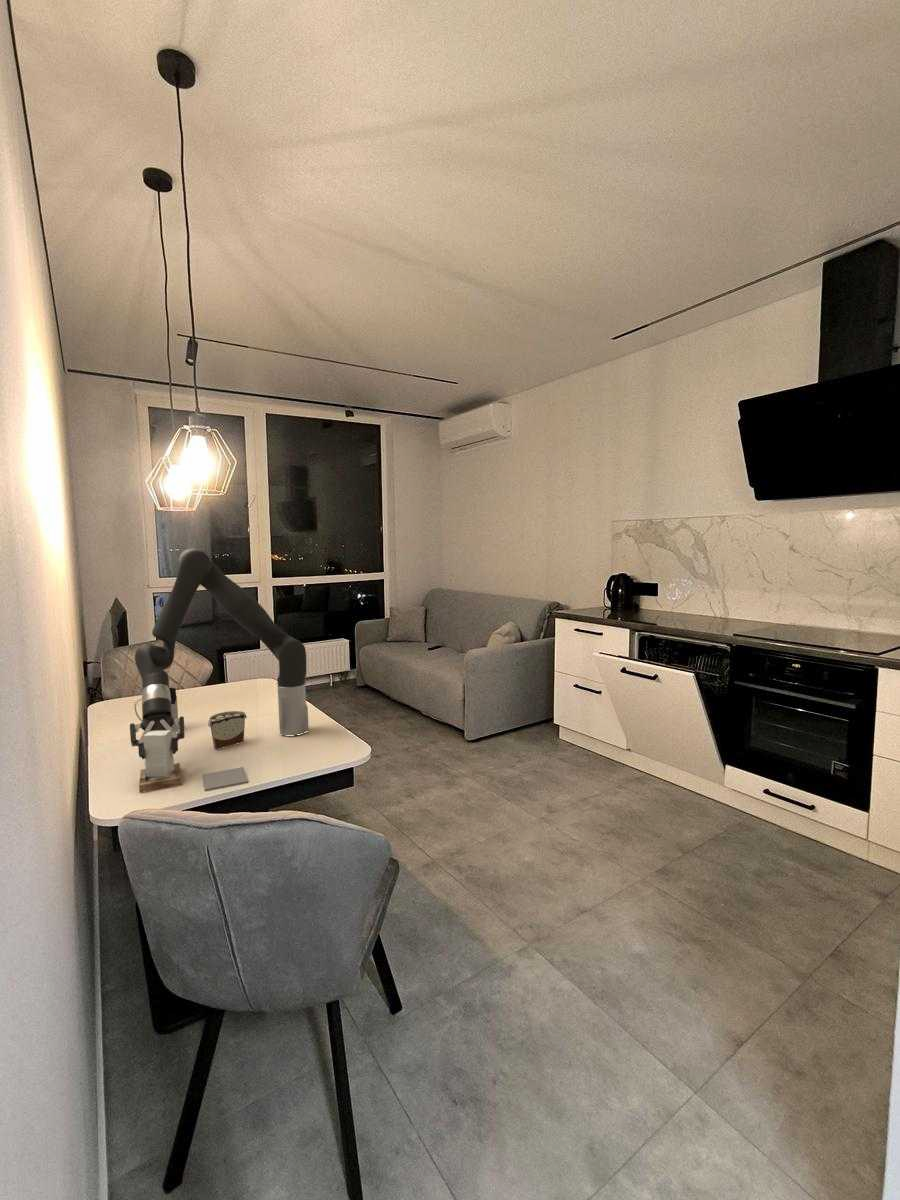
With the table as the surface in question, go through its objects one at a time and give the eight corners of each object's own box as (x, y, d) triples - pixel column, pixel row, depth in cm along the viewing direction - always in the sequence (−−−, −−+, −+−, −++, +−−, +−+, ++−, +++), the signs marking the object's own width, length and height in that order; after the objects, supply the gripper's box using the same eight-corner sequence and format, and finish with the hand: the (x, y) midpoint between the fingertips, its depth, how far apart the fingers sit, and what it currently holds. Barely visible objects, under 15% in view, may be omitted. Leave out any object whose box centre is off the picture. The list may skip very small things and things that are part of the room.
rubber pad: (243, 768, 162) (243, 766, 162) (248, 782, 152) (248, 780, 152) (202, 776, 157) (202, 774, 157) (204, 791, 147) (204, 789, 147)
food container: (240, 736, 189) (238, 708, 188) (248, 741, 185) (246, 712, 184) (203, 746, 181) (201, 716, 180) (210, 751, 176) (208, 720, 175)
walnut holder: (180, 769, 162) (179, 761, 162) (181, 784, 152) (180, 776, 151) (141, 776, 158) (140, 767, 157) (139, 792, 147) (138, 783, 147)
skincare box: (174, 770, 157) (172, 729, 156) (167, 777, 153) (165, 735, 151) (153, 771, 157) (150, 730, 155) (145, 777, 152) (142, 735, 151)
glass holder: (184, 731, 196) (182, 689, 194) (142, 742, 185) (139, 698, 183) (173, 726, 201) (170, 685, 200) (131, 736, 190) (128, 694, 189)
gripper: (127, 700, 156) (127, 754, 147) (183, 693, 162) (187, 744, 153) (129, 713, 161) (130, 766, 152) (184, 705, 168) (188, 756, 159)
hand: (159, 755), depth 153 cm, fingers closed on skincare box, 7 cm apart
